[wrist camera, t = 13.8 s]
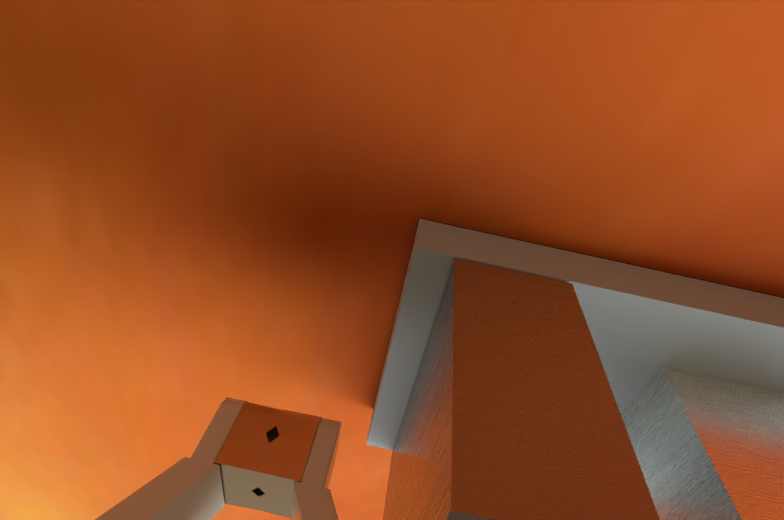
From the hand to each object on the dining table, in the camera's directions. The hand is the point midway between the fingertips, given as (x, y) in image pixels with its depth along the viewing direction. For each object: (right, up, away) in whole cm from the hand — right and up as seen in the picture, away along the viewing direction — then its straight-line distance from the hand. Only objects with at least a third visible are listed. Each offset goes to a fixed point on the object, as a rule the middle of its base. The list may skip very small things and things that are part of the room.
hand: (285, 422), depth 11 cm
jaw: (+5, 0, +2) cm, 5 cm away
